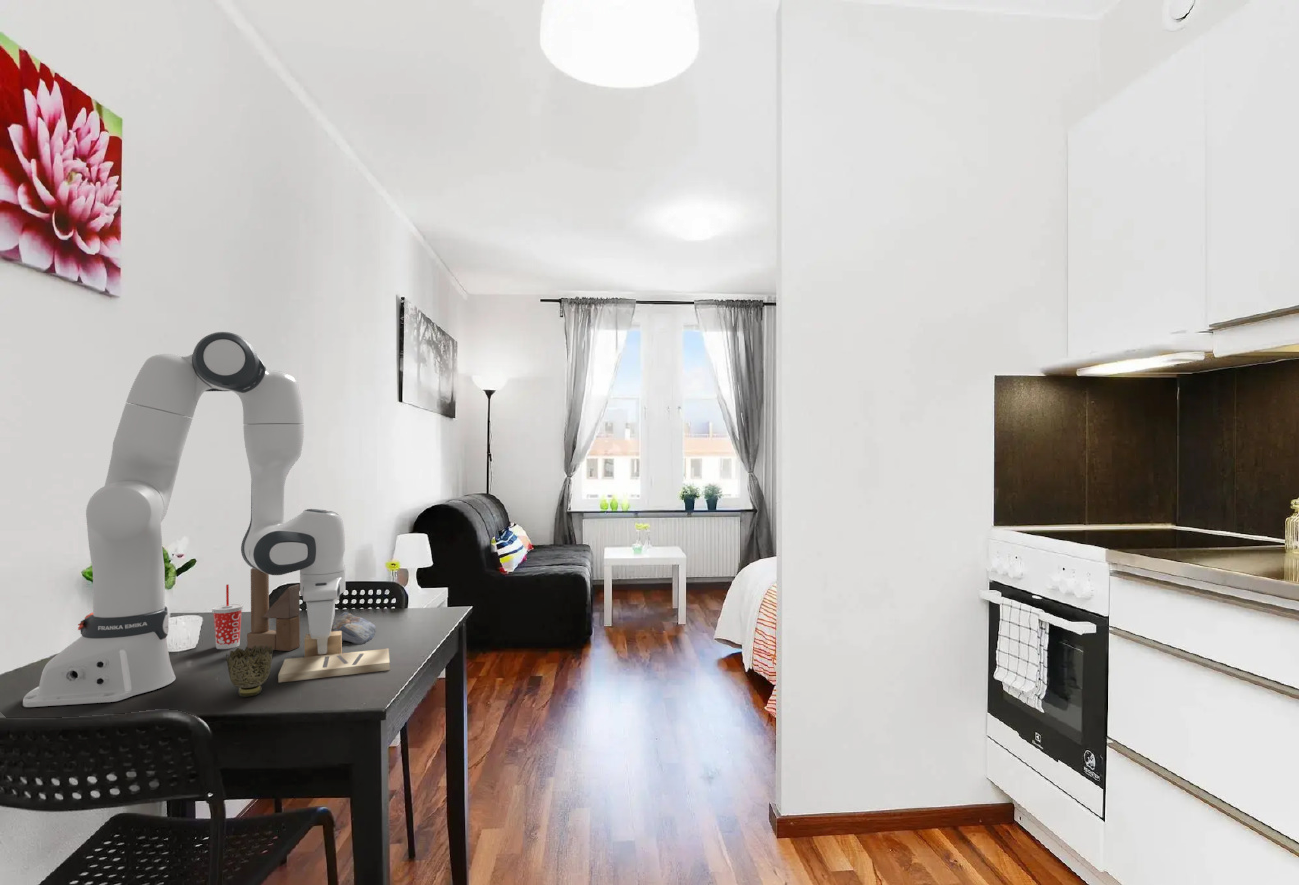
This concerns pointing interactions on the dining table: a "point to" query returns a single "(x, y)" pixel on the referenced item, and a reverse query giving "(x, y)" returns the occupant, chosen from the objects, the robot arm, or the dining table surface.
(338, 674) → the board
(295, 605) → the stacked wooden blocks
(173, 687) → the dining table surface
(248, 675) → the cup
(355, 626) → the stone
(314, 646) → the block
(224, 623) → the beverage cup
